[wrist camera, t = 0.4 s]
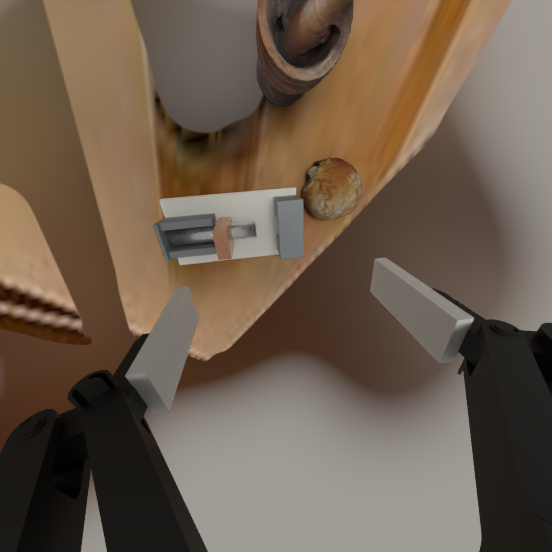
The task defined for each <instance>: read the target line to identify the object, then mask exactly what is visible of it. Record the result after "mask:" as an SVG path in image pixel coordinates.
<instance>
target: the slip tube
mask: <svg viewBox="0 0 552 552" xmlns="http://www.w3.org/2000/svg"><path fill="white" fill-rule="evenodd" d="M168 236H169V240H170V243H171V244H172V245H173V246H178V245H188V244H197V243H207V242H214V243H215V248H216V252H217V257H218V260H226V259H232V255H233V249H234V243H235V240H236V239H246V238H255V237H257V235H256V226H255V221H250V222H240V223H232V220H231V217H220V218H219V220H218V221H217V223H216V225H213V226H206V227H196V228H186V229H176V230H169V233H168Z"/></svg>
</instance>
